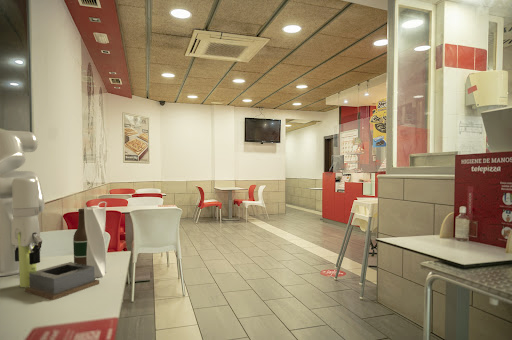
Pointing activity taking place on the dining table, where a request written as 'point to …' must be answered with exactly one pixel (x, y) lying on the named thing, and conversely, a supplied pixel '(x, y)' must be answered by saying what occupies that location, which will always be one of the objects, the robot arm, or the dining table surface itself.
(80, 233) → the beer bottle
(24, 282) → the tube
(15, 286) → the dining table surface
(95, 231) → the skyscraper
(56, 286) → the grey open tray box
